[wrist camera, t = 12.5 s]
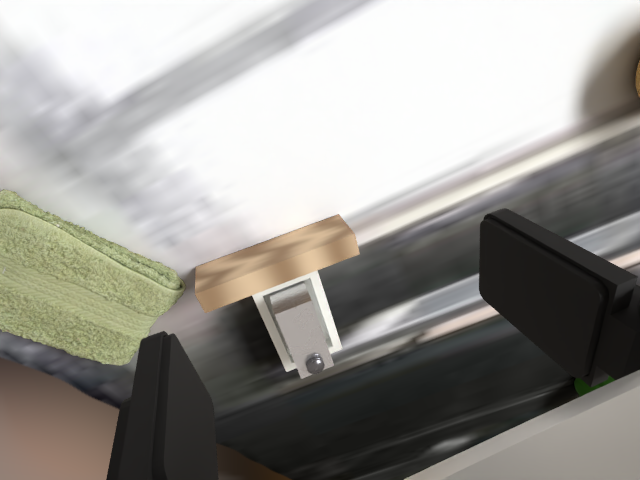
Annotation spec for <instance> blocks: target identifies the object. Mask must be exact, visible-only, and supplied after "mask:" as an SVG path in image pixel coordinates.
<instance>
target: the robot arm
mask: <svg viewBox="0 0 640 480" xmlns="http://www.w3.org/2000/svg"><path fill="white" fill-rule="evenodd" d="M637 278H638V277H637V276H635V275H633V274H631V273H630V272H628V271H626V270H624V269H622V268H620V267H618V266H616V265H614V264H612V263H610V262H608V261H607V260H605V259H603V258H601V257H599V256H597V255H595V254H593V253H591V252H589V251H587V250H585V249H583V248H582V247H580V246H578V245H576V244H574V243H572V242H570V241H568V240H566V239H564V238H562V237H560V236H558V235H557V234H555V233H553V232H551V231H549V230H547V229H545V228H543V227H541V226H539V225H537V224H535V223H533V222H532V221H530V220H528V219H526V218H524V217H522V216H520V215H518V214H516V213H514V212H512V211H510V210H508V209H505V208H504V209H500V210H497V211H495V212H492V213H489V214H487V215H485V217H484V220H483V221H482V222H481V224H480V267H479V291H480V294H481V296H482V298H483V299H484V300H485V301H486V302H487V303H488V304H489V305H491V306H492V307H493V308H494V309H495V310H496V311H498V312H499V313H500V314H501V315H502V316H503V317H504V318H506V319H507V320H508V321H509V322H510V323H511V324H512V325H514V326H515V327H516V328H517V329H518V330H519V331H521V332H522V333H523V334H524V335H525V336H526V337H527V338H529V339H530V340H531V341H532V342H533V343H534V344H535V345H537V346H538V347H539V348H540V349H541V350H542V351H544V352H545V353H546V354H547V355H548V356H549V357H550V358H552V359H553V360H554V361H555V362H556V363H557V364H558V365H560V366H561V367H562V368H563V369H564V370H565V371H567V372H568V373H569V374H570V375H571V376H573V377H575V378H580V379H581V380H583V381H584V382H585V383H586V384H587V385H588V386H590V387H593V386H595V385H597V384H600V383H602V382H604V381H606V380H608V377H609V376H610V377H612V378H613V379H614V380H615V381H613V382H611V383H609V384H607V385H605V386H603V387H600V388H598V389H596V390H594V391H592V392H590V393H587V394H585V395H583V396H581V397H579V398H577V399H574V400H572V401H570V402H568V403H566V404H564V405H562V406H559V407H557V408H555V409H553V410H551V411H549V412H546V413H544V414H542V415H540V416H538V417H536V418H533V419H531V420H529V421H527V422H525V423H523V424H521V425H519V426H516V427H514V428H512V429H510V430H508V431H506V432H504V433H502V434H499V435H497V436H495V437H493V438H491V439H489V440H487V441H484V442H482V443H480V444H478V445H476V446H474V447H472V448H470V449H467V450H465V451H463V452H461V453H459V454H457V455H455V456H453V457H451V458H448V459H446V460H444V461H442V462H440V463H438V464H436V465H434V466H431V467H429V468H427V469H425V470H423V471H421V472H419V473H417V474H415V475H412V476H410V477H408V478H406V479H404V480H640V286H638V285H636V281H637ZM106 480H218V466H217V451H216V436H215V421H214V408H213V403H212V400H211V397H210V395H209V393H208V391H207V390H206V388H205V386H204V384H203V382H202V381H201V379H200V377H199V375H198V374H197V372H196V370H195V368H194V367H193V365H192V363H191V361H190V360H189V358H188V356H187V354H186V353H185V351H184V349H183V347H182V345H181V344H180V342H179V340H178V338H177V337H176V335H175V334H170V335H168V334H167V333H166V332H165V331H162V332H160V333H157V334H154V335H151V336H148V337H146V338H143V339H142V340H141V342H140V347H139V354H138V360H137V366H136V372H135V378H134V384H133V390H132V396H131V397H130V398H128V399H125V400H124V401H123V402H122V404H121V407H120V411H119V416H118V421H117V427H116V432H115V438H114V443H113V448H112V453H111V458H110V464H109V469H108V474H107V479H106Z"/></svg>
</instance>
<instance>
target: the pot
mask: <svg viewBox="0 0 640 480" xmlns="http://www.w3.org/2000/svg"><path fill="white" fill-rule="evenodd" d="M636 89H637V92H638V96H639V97H640V60H639V64H638V67H637V72H636Z"/></svg>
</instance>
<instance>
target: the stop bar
mask: <svg viewBox="0 0 640 480" xmlns="http://www.w3.org/2000/svg"><path fill="white" fill-rule="evenodd" d="M269 296H270V300H271V303H272V307H273V311H274V315H275V317H276V319H277V322H278V324H279V327H280V329H281V331H282V334H283V336H284V338H285V341H286V343H287V346H288V348H289V350H290V353H291V355H292V357H293V360H294V362H295V365H296V367H297V369H298V372H299V374H300V376H301V379H302V378H305V377H307V376H310V375H312V374H317V373H319V372H321V371H322V370H324V369H327V368H329V367H331V366H334V364H333V361H332V358H331V355H330V352H329V349H328V346H327V343H326V340H325V337H324V335H323V332H322V329H321V326H320V323H319V320H318V317H317V314H316V311H315V308H314V305H313V302H312V300H311V297H310V295H309V293H308V290H307V288H306V286H305V283H304V281H300V282H298V283H295V284H293V285H290V286H287V287H285V288H282V289H280V290H277V291H274V292H272V293H269Z"/></svg>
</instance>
